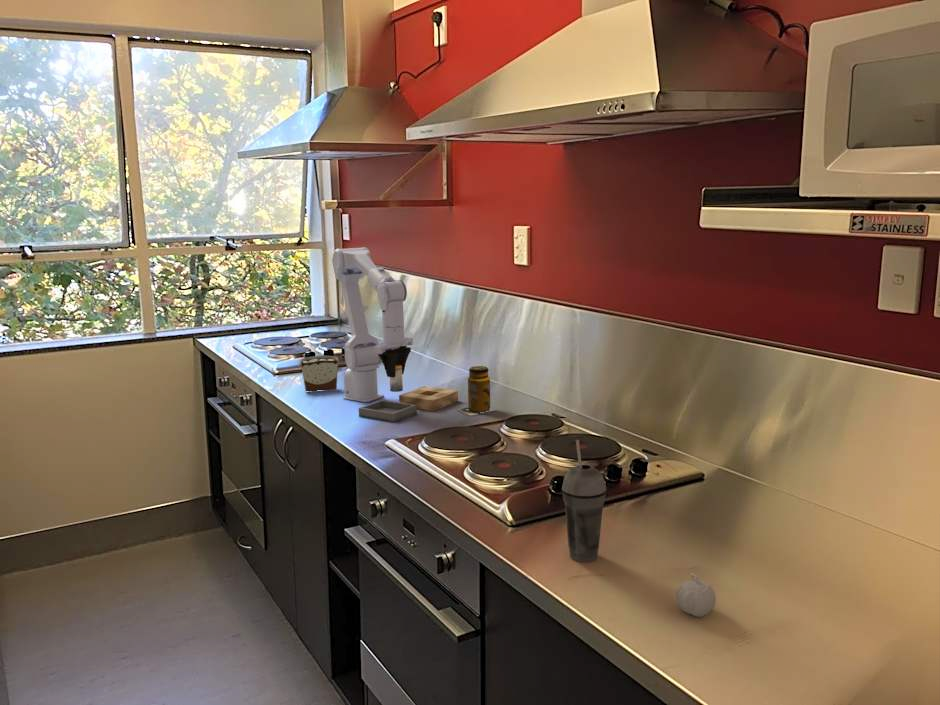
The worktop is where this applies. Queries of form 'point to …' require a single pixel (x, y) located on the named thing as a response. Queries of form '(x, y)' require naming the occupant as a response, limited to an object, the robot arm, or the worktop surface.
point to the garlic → (696, 597)
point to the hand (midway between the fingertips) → (395, 375)
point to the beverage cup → (583, 509)
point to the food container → (320, 372)
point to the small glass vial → (397, 380)
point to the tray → (387, 410)
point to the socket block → (429, 398)
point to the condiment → (478, 391)
